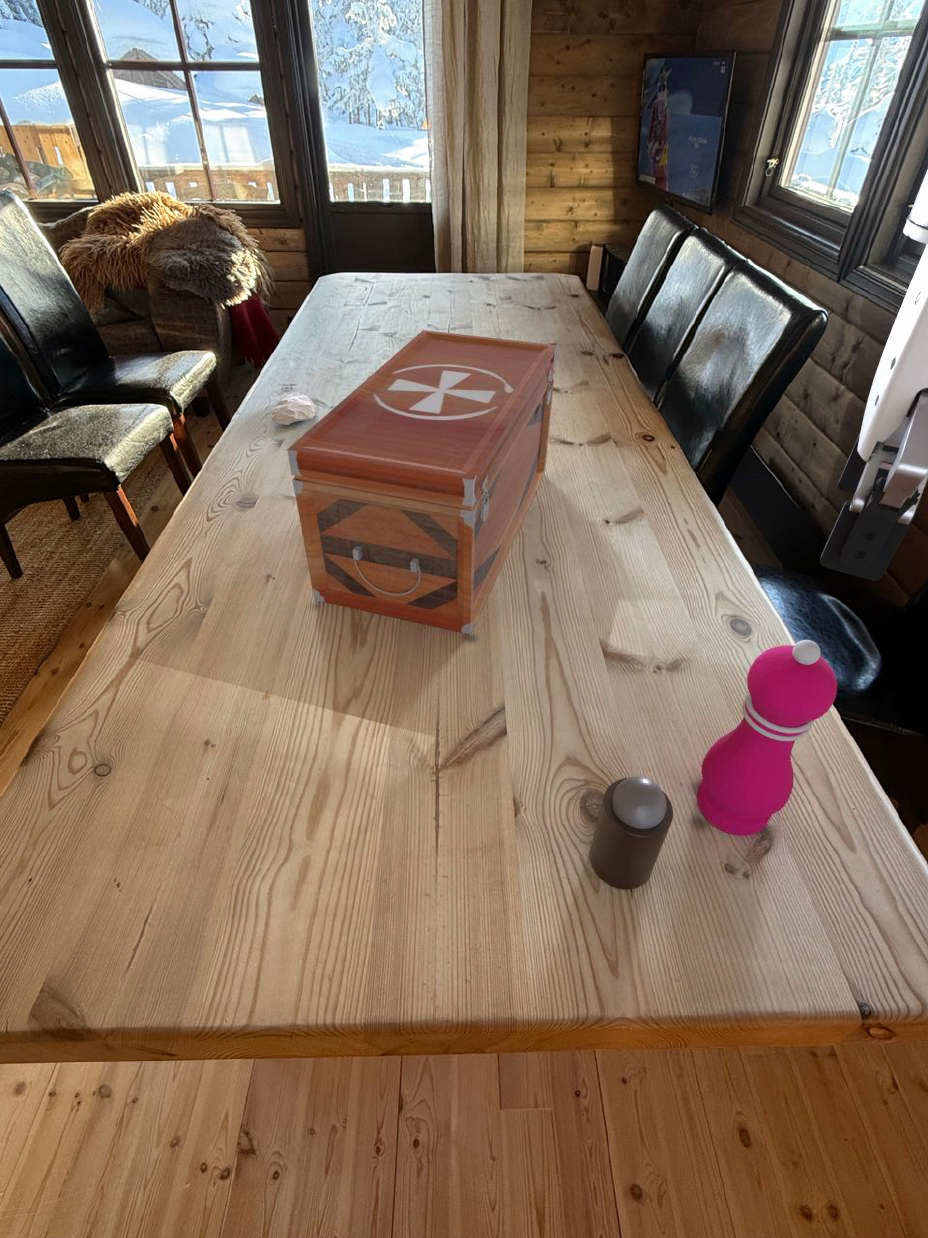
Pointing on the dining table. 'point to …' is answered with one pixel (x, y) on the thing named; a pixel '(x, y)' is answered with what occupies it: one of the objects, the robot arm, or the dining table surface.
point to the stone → (293, 409)
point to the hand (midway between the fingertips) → (856, 529)
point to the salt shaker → (630, 832)
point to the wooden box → (425, 477)
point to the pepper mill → (765, 738)
